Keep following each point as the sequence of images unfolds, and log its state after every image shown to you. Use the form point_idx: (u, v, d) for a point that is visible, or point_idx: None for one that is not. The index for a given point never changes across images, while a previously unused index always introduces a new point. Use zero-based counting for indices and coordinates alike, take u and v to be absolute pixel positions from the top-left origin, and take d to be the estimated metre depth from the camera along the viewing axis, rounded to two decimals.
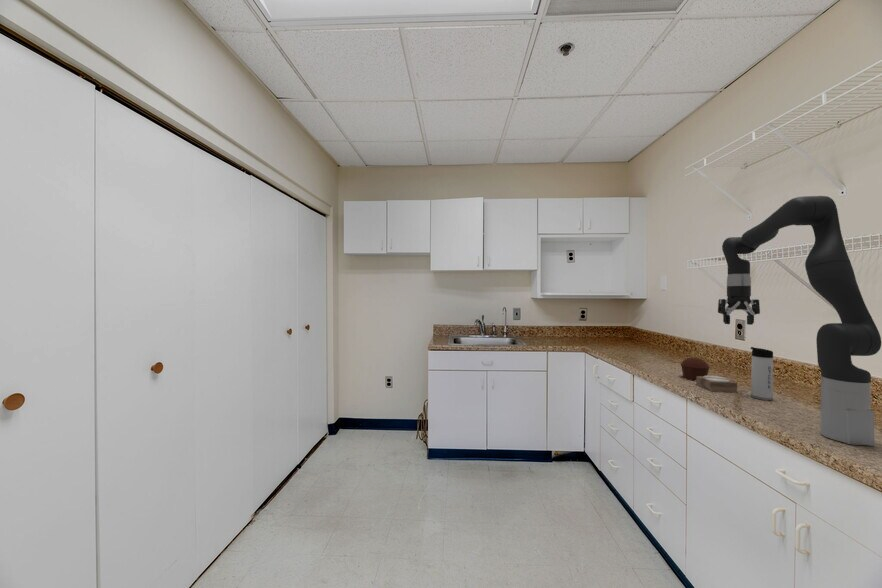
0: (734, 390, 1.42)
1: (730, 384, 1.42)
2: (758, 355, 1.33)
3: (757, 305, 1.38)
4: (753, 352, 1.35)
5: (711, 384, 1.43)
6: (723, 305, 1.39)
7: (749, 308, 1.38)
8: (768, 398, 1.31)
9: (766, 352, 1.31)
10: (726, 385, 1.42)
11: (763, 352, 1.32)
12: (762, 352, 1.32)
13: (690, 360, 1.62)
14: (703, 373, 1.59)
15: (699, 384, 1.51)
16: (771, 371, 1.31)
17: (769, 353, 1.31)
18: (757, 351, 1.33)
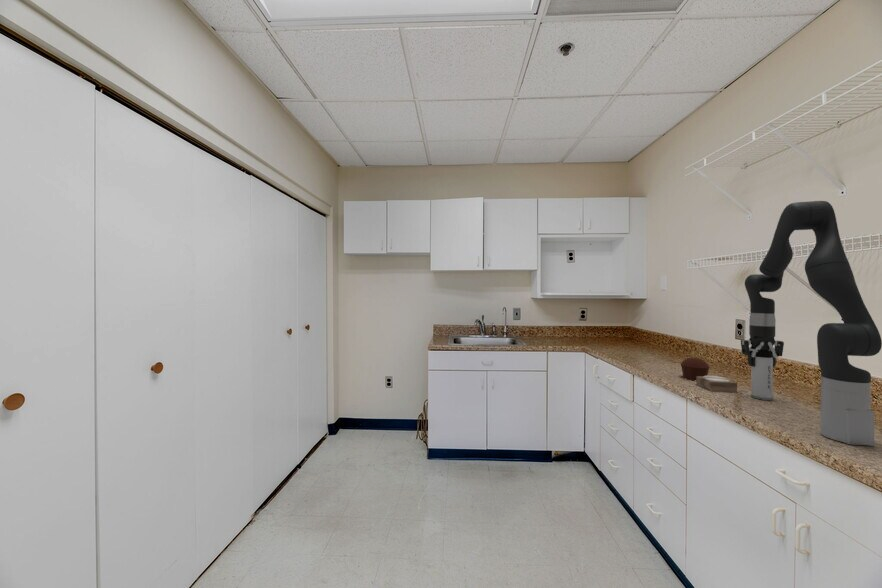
0: (734, 390, 1.42)
1: (730, 384, 1.42)
2: (757, 354, 1.33)
3: (781, 347, 1.32)
4: None
5: (711, 384, 1.43)
6: (747, 347, 1.34)
7: (772, 350, 1.32)
8: (768, 398, 1.31)
9: (766, 352, 1.31)
10: (726, 385, 1.42)
11: (763, 352, 1.32)
12: (762, 352, 1.32)
13: (690, 360, 1.62)
14: (703, 373, 1.59)
15: (699, 384, 1.51)
16: (771, 371, 1.31)
17: (769, 353, 1.31)
18: None
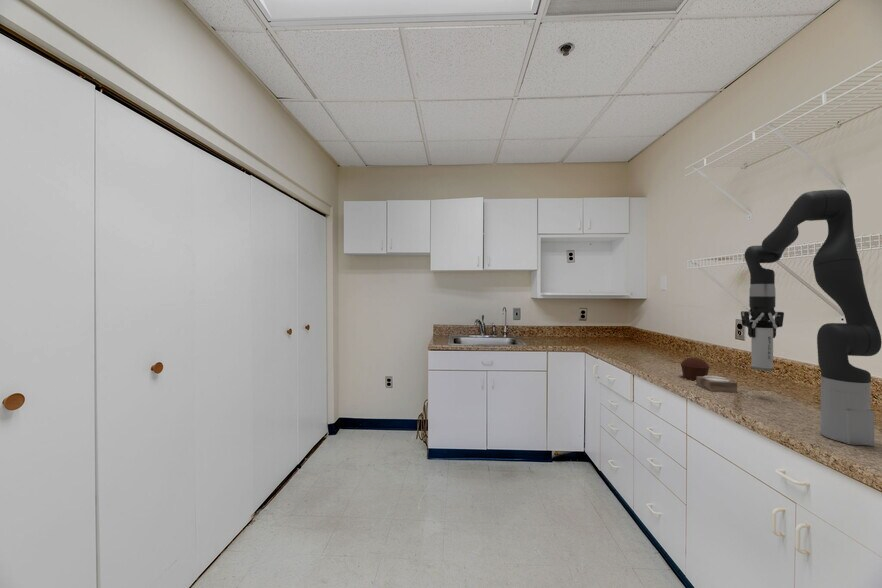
0: (734, 390, 1.42)
1: (730, 384, 1.42)
2: (757, 325, 1.33)
3: (781, 318, 1.32)
4: None
5: (711, 384, 1.43)
6: (747, 318, 1.34)
7: (772, 320, 1.32)
8: (768, 368, 1.31)
9: (766, 322, 1.31)
10: (726, 385, 1.42)
11: (763, 322, 1.32)
12: (762, 322, 1.32)
13: (690, 360, 1.63)
14: (703, 373, 1.59)
15: (699, 384, 1.51)
16: (771, 341, 1.31)
17: (769, 323, 1.31)
18: None
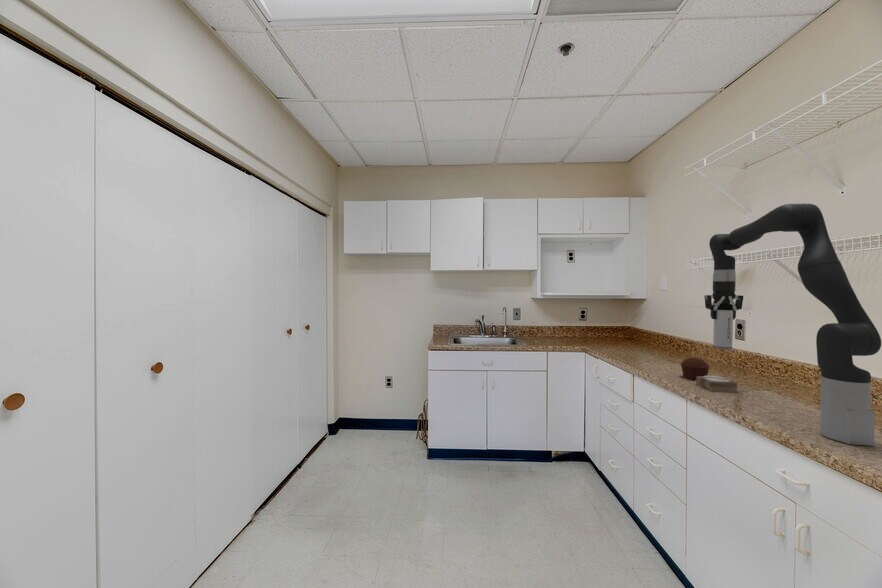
0: (734, 390, 1.42)
1: (730, 384, 1.42)
2: (719, 308, 1.44)
3: (740, 301, 1.43)
4: None
5: (711, 384, 1.43)
6: (709, 301, 1.45)
7: (732, 303, 1.43)
8: (727, 347, 1.43)
9: (726, 305, 1.42)
10: (726, 385, 1.42)
11: (723, 305, 1.43)
12: (722, 305, 1.43)
13: (690, 360, 1.62)
14: (703, 373, 1.59)
15: (699, 384, 1.51)
16: (730, 322, 1.42)
17: (729, 306, 1.42)
18: None
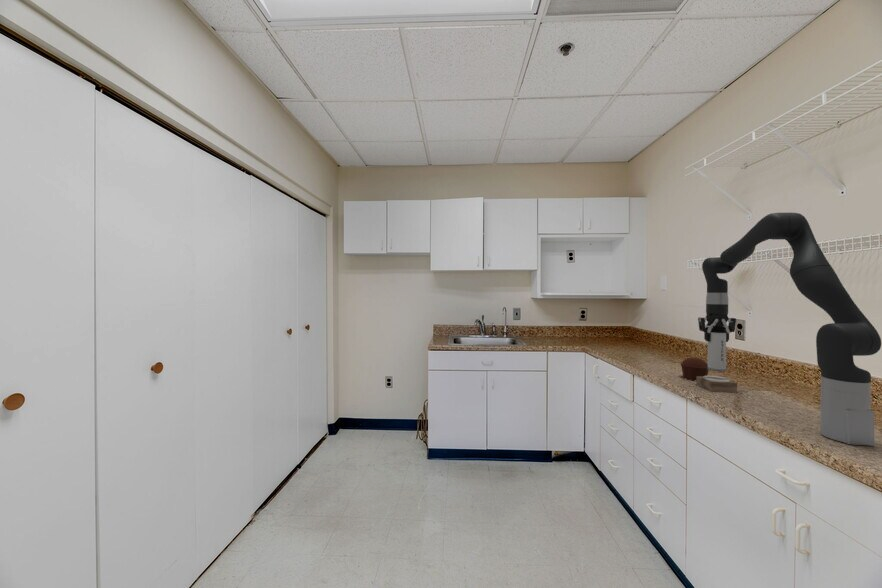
0: (734, 390, 1.42)
1: (730, 384, 1.42)
2: (712, 330, 1.46)
3: (733, 323, 1.45)
4: None
5: (711, 384, 1.43)
6: (703, 323, 1.47)
7: (725, 326, 1.45)
8: (721, 369, 1.44)
9: (719, 328, 1.44)
10: (726, 385, 1.42)
11: (717, 328, 1.45)
12: (716, 328, 1.45)
13: (690, 360, 1.62)
14: (703, 373, 1.59)
15: (699, 384, 1.51)
16: (724, 345, 1.44)
17: (722, 328, 1.44)
18: None
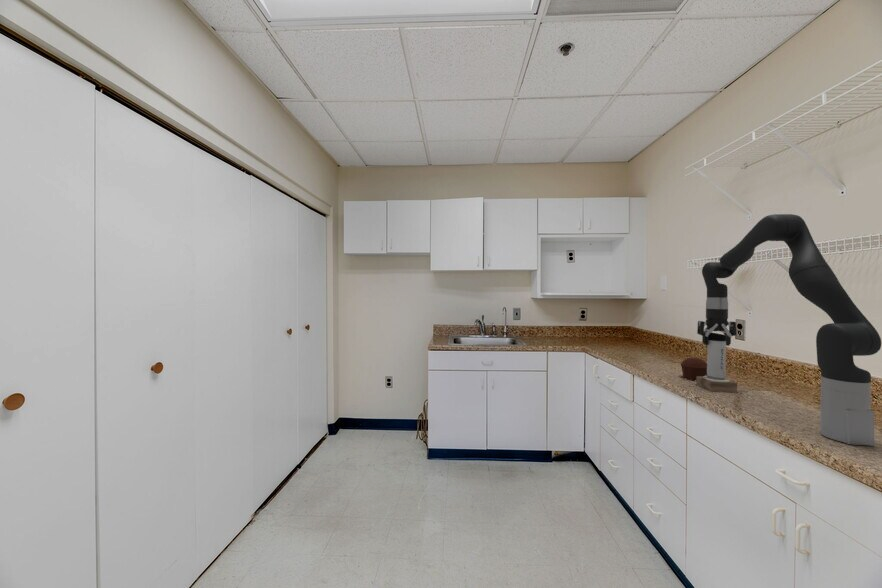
0: (734, 390, 1.42)
1: (730, 384, 1.42)
2: (712, 338, 1.46)
3: (734, 327, 1.45)
4: (708, 336, 1.47)
5: (711, 384, 1.43)
6: (702, 327, 1.47)
7: (726, 330, 1.45)
8: (721, 378, 1.44)
9: (719, 336, 1.44)
10: (726, 385, 1.42)
11: (717, 336, 1.44)
12: (716, 336, 1.45)
13: (690, 360, 1.63)
14: (703, 373, 1.59)
15: (699, 384, 1.51)
16: (724, 353, 1.44)
17: (722, 337, 1.44)
18: (712, 335, 1.46)
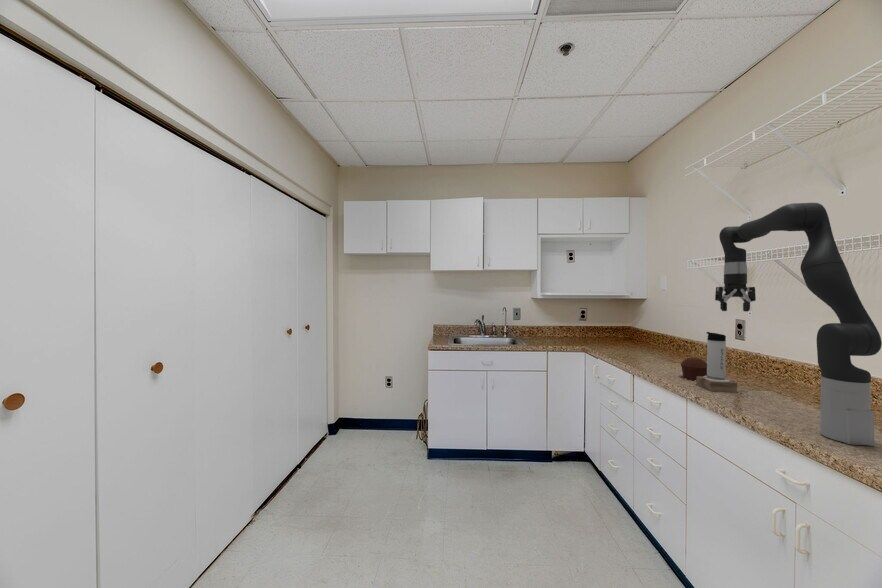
0: (734, 390, 1.42)
1: (730, 384, 1.42)
2: (712, 338, 1.46)
3: (753, 292, 1.42)
4: (708, 336, 1.48)
5: (711, 384, 1.43)
6: (720, 292, 1.43)
7: (745, 295, 1.42)
8: (721, 378, 1.44)
9: (719, 336, 1.44)
10: (726, 385, 1.42)
11: (716, 336, 1.44)
12: (715, 336, 1.45)
13: (690, 360, 1.63)
14: (703, 373, 1.59)
15: (699, 384, 1.51)
16: (723, 353, 1.44)
17: (722, 337, 1.44)
18: (711, 335, 1.46)
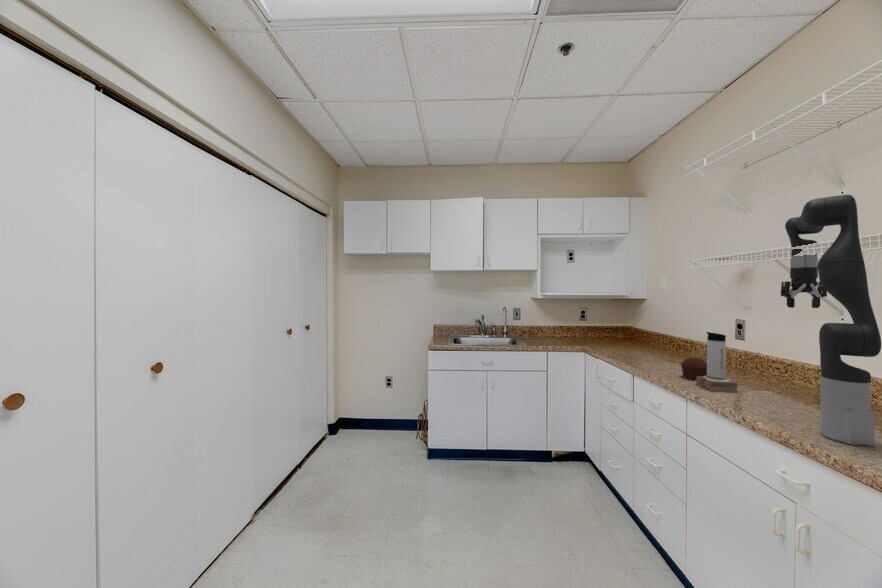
0: (734, 390, 1.42)
1: (730, 384, 1.42)
2: (712, 338, 1.46)
3: (824, 287, 1.32)
4: (708, 336, 1.48)
5: (711, 384, 1.43)
6: (787, 288, 1.33)
7: (815, 291, 1.32)
8: (721, 378, 1.44)
9: (719, 336, 1.44)
10: (726, 385, 1.42)
11: (716, 336, 1.45)
12: (715, 336, 1.45)
13: (690, 360, 1.63)
14: (703, 373, 1.59)
15: (699, 384, 1.51)
16: (723, 353, 1.44)
17: (722, 337, 1.44)
18: (711, 335, 1.46)
